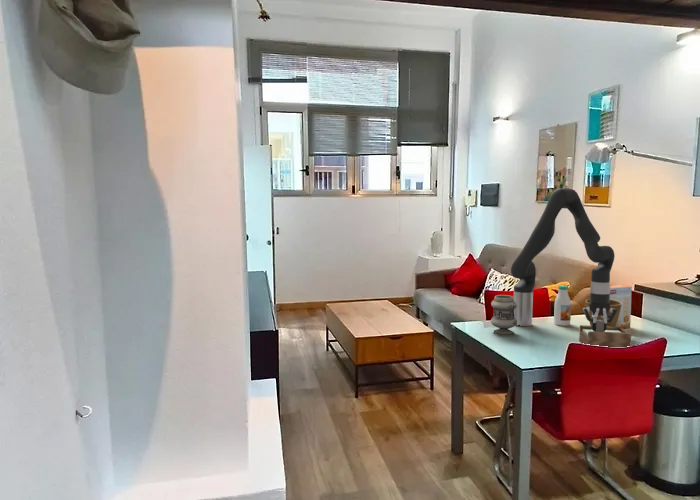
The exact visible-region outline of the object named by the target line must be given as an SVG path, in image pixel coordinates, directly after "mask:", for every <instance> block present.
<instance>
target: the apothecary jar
mask: <svg viewBox="0 0 700 500" xmlns="http://www.w3.org/2000/svg"><path fill="white" fill-rule="evenodd" d="M490 305H491V307H492V308H493V316H492V317H491V319H490V323H491V325H492V326H494V328H497V329H494V330H493V331H494V332H493V331H492V334H495V335H496V334H497V335H496V336H502V337H511V336H514V335H515V332H514V331H513V330H510V329H512V328H515V327H516V326H518V325H517V320H516V319H515V318H514V309H515V308H516V307H517V303H516V302H515V301H514V295H507V294H498V295H495V296H494V299H493V300H492V301H491V302H490Z"/></svg>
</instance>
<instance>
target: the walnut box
mask: <svg viewBox="0 0 700 500" xmlns="http://www.w3.org/2000/svg"><path fill="white" fill-rule="evenodd" d="M582 329H591V325H584V324H583V325H581V324H580V325H579V333H578V334H579V337H578V339H579V340H578V341H579V342H580V343H581V344H582V343H584V344H590V345H599V346H608V347H627V346H631V345H632V344H631V343H632V334H631V333H630V332H629V331H627V330H626V329H625V328H621V327H617V326H606V329H614V330H618V331H620V332H621V333H620V332H591V331H589V332H588V335H587V334H586V333H584V332H583V331H582Z"/></svg>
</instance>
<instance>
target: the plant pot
mask: <svg viewBox="0 0 700 500" xmlns="http://www.w3.org/2000/svg"><path fill="white" fill-rule="evenodd" d="M609 304H610V307H611V308H614V309H616V310H617V312H616V314H615V316H614V318H613V319H612V321H611V322H608V323H607V325H606V326H616V324H617V321H618V318H619V314H620V309H621V304H622V303H621V302H619V301H615V300H610V303H609ZM589 305H590V298H589V299H586V300H585V308H586V307H589ZM588 313H589V315H590V317H591V319H592V311H591V310H590V309H589V312H588ZM609 314H610V310H609V311H608V312H607V313H606V315H607V318H608V316H609ZM596 320H602V317H601V315H598V317H597V319H596ZM588 322H589V326H591V322H590V321H588Z"/></svg>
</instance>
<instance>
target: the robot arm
mask: <svg viewBox="0 0 700 500" xmlns="http://www.w3.org/2000/svg"><path fill="white" fill-rule="evenodd" d="M563 209H567V210H568V211H569V212H570V213H571V214H572V216H573V219H574V227H575V230H576V233H577V235H578V236H579V238H580V240H581V241H582V243H583V246H584V249H585V252H586V255H587V258H588V259H589V260H590V261H591V262H593V263H596V264H597V265H596V267H593V269H592V270H591V275H590V276H591V279H590V280H591V282H590V289H589V293H590V294H589V295H590V297H589V299H590V305H589V307H586V306H585V307H582V311H583V313H584V316H585V318H586V320H587V321H588V322H589V321H590V322H591V325H590V326H591V329H592V330H593V331H596V319H597V317H598V315H601V317H602V321H604V332H605V330H606V325H607V323H608V322H611V321H612V319H613V318H614V316H615V314H616V312H617V310H616V309H614V308H611V307H610V304H609V303H610V286H611V283H610V281H611V279H610V277H611V271H612V268H613V265H614V262H615V257H616V256H615V255H616V254H615V252H614V249H613V248H612V246H610V245H599V242H600V240H601V236H600V234H599V232H598V231H597V229H596V227H595V226H594V225H593V223H592V222H591V220H590V218H589V216H588V214H587V211H586V209H585V208H584V204H583V202H582V200H581V198H580V196H579V194H578V192H577V191H576V190H575V189H573V188H564V187H562V188H561V187H559V188H556V189H554V190H553V191H552V193H551V194H550V196H549V198H548V201H547V203H546V206H545V208H544V211H543V213H542V214H541V216H540V217H539V220H538V222H537V224H536V225H535V227H534V229H533V230H532V232H531V234H530V236H529V238H528V240H527V241H526V242H525V245H524V246H523V249H522V250H521V251H520V253H519V254H518V255H517V257H516V258H515V260H514V261H513V263H512V265H511V266H510V273H511V276H512V277H513V278H515V279H518V282H517V283H516V284H514V286H513V299H514V301H515V302H516V303H517V307H516V308H515V309H514V318H515V319H516V320H517V325H516V326H518V325H520V326H519V327H530V326H532V325H533V304H534V303H533V301H534V299H533V298H534V297H533V296H534V287H535V285H536V277H537V275H536V273H537V270H536V269H537V268H536V265H535V263H534V262H533V260H534V259H535V257H536V256H538V255H539V254H541V252H543V251H544V249H546V248H547V246H548V245H549V244H550V243H551V241H552V239H553V237H554V235H555V231H556V220H557V216H558V215H560V214H559V213H560V212H561V210H563ZM589 309H590V310H591V311H592V319H591V317H590V315H589V313H588V312H589ZM609 310H610V314H609V316H608V318H607V315H606V313H607V312H608V311H609ZM590 322H589V323H590Z"/></svg>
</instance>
